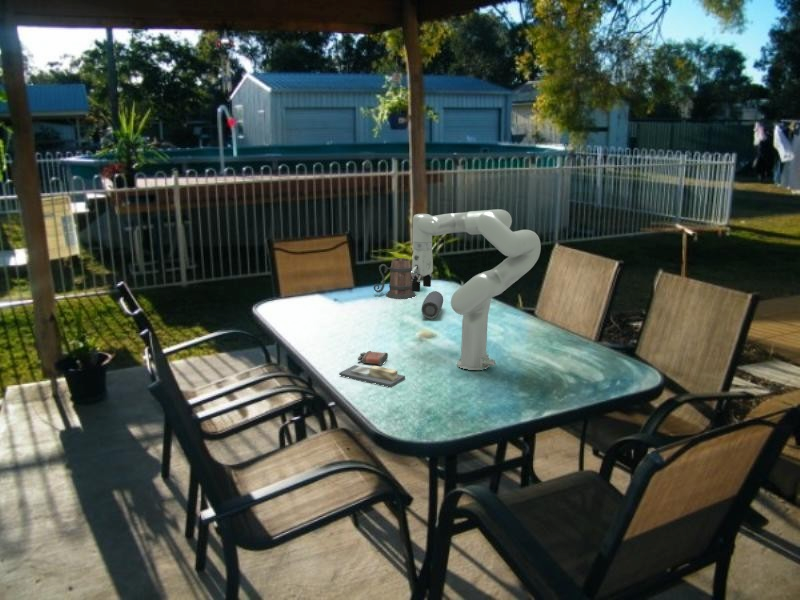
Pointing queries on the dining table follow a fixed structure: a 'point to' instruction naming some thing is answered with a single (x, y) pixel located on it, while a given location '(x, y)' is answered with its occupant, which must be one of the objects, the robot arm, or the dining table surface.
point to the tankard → (398, 279)
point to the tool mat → (371, 378)
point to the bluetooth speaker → (432, 304)
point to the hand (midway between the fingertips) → (421, 288)
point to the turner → (376, 372)
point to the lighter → (373, 357)
